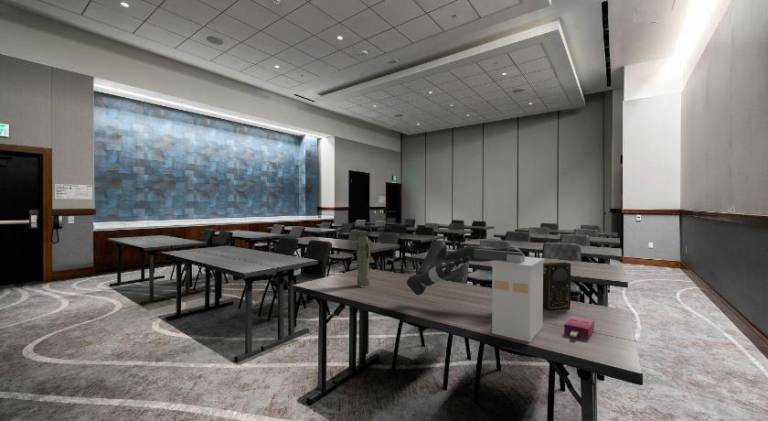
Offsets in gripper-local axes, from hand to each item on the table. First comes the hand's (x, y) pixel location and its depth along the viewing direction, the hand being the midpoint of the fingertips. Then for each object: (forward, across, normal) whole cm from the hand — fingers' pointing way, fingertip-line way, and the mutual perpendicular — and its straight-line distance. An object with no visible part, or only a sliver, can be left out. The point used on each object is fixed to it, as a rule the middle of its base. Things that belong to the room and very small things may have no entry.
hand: (465, 259), depth 162 cm
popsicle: (+23, -18, -50) cm, 58 cm away
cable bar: (+14, -1, -7) cm, 15 cm away
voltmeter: (+9, -54, -41) cm, 68 cm away
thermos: (-92, -26, +18) cm, 97 cm away
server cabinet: (+4, -6, -38) cm, 39 cm away
